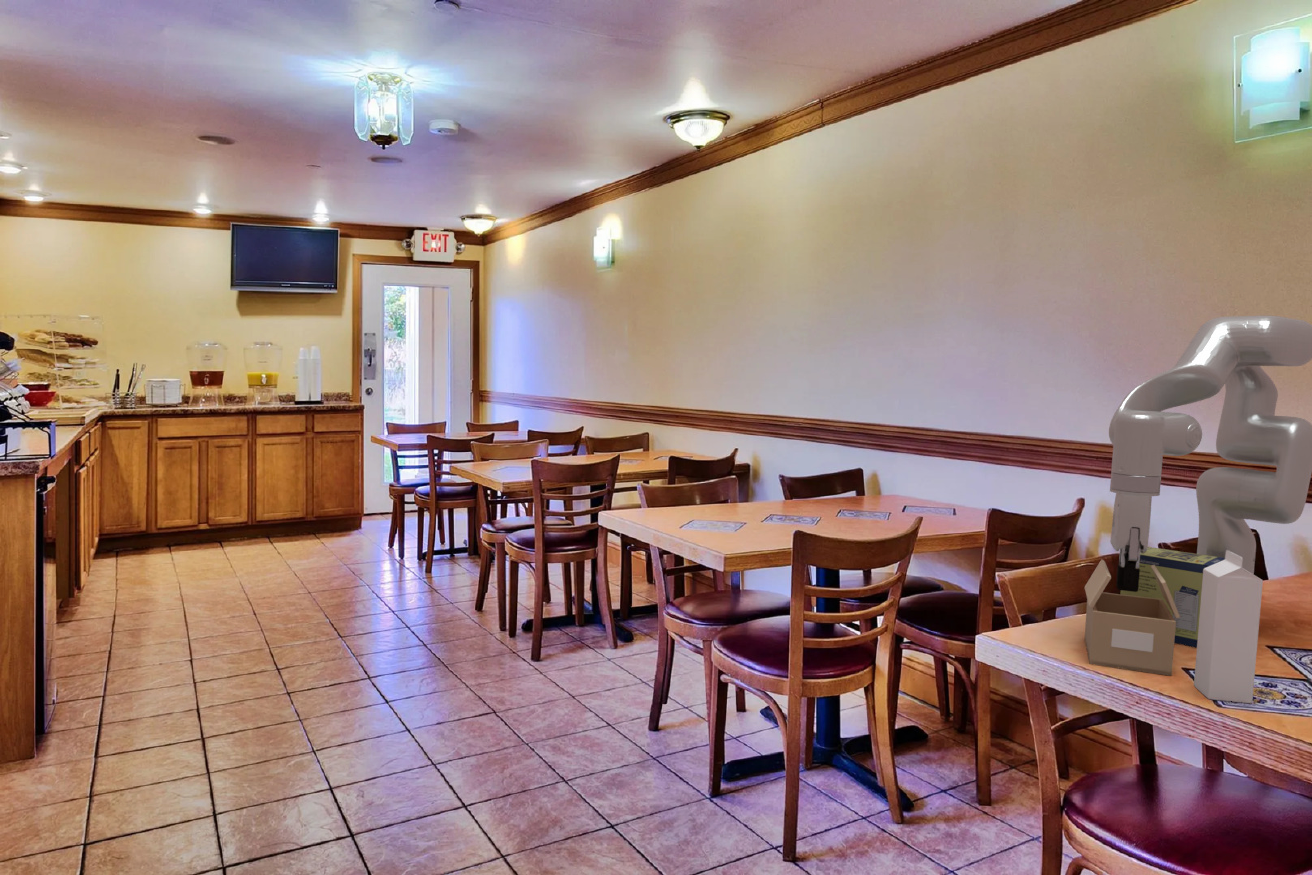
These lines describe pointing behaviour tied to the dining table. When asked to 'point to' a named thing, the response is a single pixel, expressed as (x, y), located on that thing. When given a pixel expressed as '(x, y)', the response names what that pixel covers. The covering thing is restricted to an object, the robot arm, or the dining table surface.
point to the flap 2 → (1165, 591)
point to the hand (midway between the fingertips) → (1127, 589)
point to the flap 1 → (1097, 583)
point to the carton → (1130, 633)
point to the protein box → (1176, 586)
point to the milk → (1228, 631)
